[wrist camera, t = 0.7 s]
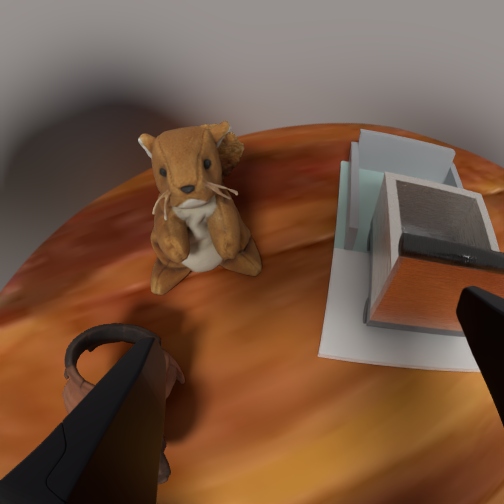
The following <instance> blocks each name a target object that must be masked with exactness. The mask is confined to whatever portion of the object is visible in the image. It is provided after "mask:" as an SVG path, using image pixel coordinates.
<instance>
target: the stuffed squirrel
mask: <svg viewBox="0 0 504 504" xmlns="http://www.w3.org/2000/svg"><path fill="white" fill-rule="evenodd" d="M230 130H231V125H230V124H229V123H228V122H227V121H223V122H222V123H220V124H219V125H218V124H213V125H207V124H206V125H202V126H200V127H199V126H193V127H186V128H179V129H174V130H170V131H165V132H163V133H162V134H161V135H159V136H158V137H157V138H154V137H152V136H151V135H149V134H142V135H141V136H140V138H139V139H138V141H139V143H140V144H141V145H142V147H143V148H144V149H145V150H146V152H147V154H148V155H149V156H150V157H151V158H152V168H153V173H154V177H155V180H156V184H157V187H158V189H159V191H160V192H161V193H160V194H159V197H158V200H157V202H156V204H155V206H154V208H153V214H155V218H154V228H153V231H152V234H151V244H152V247H153V249H154V251H155V253H156V254H157V259H156V261H155V264H154V266H153V270H152V275H151V291H152V292H153V293H154V294H157V295H158V294H159V295H164V294H166V293H167V292H168V291H170V290H171V289H172V288H173V287H174V286H176V285H177V284H178V283H179V282H180V281H181V280H182V279H183V278H185V277H186V276H187V275H188V274H189V272H190V271H191V270H192V271H194V272H206V271H210V270H212V269H214V268H216V267H217V266H218V265H221V266H223V267H224V268H226V269H228V270H231V271H234V272H238V273H241V274H245V275H250V276H256V275H258V274H259V273H260V272H261V270H262V264H261V259H260V255H259V252H258V250H257V248H256V245H255V243H254V241H253V239H252V236H251V232H250V230H249V229H248V228H247V226H246V225H245V224H244V222H243V221H242V219H241V216H240V214H239V212H238V210H237V208H236V206H235V204H234V202H233V200H232V198H231V196H230V194H229V193H228V191H227V190H229V191H230V192H232V193H234V194H235V195H238V192H237V191H235V190H233V189H229V188H226V187H225V185H224V182H223V181H222V180H223V179H224V178H225V177H226V176H229V175H228V174H230V171H232V169H233V168H235V167H236V165H237V164H238V163H239V162H240V158H241V156H242V152H243V151H244V147H243V146H244V144H243V143H241V142H240V141H238V138H237V137H236V136H235V134H233V133H232V132H231V133H230V132H229V131H230ZM226 189H227V190H226Z"/></svg>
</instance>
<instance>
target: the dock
mask: <svg viewBox="0 0 504 504" xmlns="http://www.w3.org/2000/svg"><path fill="white" fill-rule="evenodd" d="M454 156H455V151H454V150H453V149H450V148H446V147H442V146H439V145H435V144H431V143H427V142H423V141H418V140H414V139H410V138H405V137H400V136H396V135H391V134H386V133H381V132H375V131H370V130H364V129H360V136H359V142H358V143H357V142H351V149H350V155H349V162H345V161H341V166H340V182H339V195H338V208H337V219H336V229H335V239H334V248H333V257H332V265H331V273H330V280H329V288H328V295H327V302H326V309H325V315H324V321H323V328H322V334H321V340H320V345H319V351H318V356H317V357H323V358H330V359H336V360H343V361H350V362H358V363H366V364H374V365H383V366H392V367H402V368H413V369H425V370H440V371H459V372H480V369H479V367H478V365H477V363H476V361H475V359H474V357H473V355H472V352H471V350H470V347H469V345H468V342H467V340H466V337H457V336H447V335H437V334H428V333H419V332H410V331H402V330H394V329H387V328H379V327H372V326H366V324H364V323H363V311H364V306H365V302H366V300H367V298H368V293H369V273H370V251H367V239H368V234H369V230H370V223H371V220H372V216H373V213H374V209H375V206H376V203H377V199H378V196H379V192H380V188H381V185H382V181H383V177H384V173H385V172H390V173H395V174H400V175H405V176H410V177H415V178H419V179H424V180H428V181H432V182H437V183H441V184H445V185H449V186H453V187H457V188H461V189H463V186H462V183H461V181H460V178H459V175H458V172H457V170H456V167H455V165H454V163H452V161H453V158H454Z"/></svg>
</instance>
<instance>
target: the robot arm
mask: <svg viewBox="0 0 504 504" xmlns="http://www.w3.org/2000/svg"><path fill="white" fill-rule="evenodd" d="M456 316H457V318H458V321H459V323H460V325H461V328H462V330H463V332H464V335H465V337H466V340H467V342H468V345H469V347H470V350H471V352H472V355H473V357H474V359H475V361H476V363H477V365H478V367H479V369H480V372H481V374H482V376H483V378H484V380H485V382H486V385H487V387H488V389H489V391H490V394H491V396H492V398H493V401H494V403H495V406H496V408H497V411H498V413H499V416H500V418H501V421H502V424H503V426H504V298H502V297H499V296H497V295H495V294H493V293H490V292H488V291H486V290H484V289H481V288H479V287H477V286H468V287H465V288H463V290H462V291H461V294H460V298H459V301H458V304H457V307H456ZM165 406H166V359H165V356H164V354H163V351H162V349H161V347H160V344H159V342H158V340H157V338H156V337H142V338H140V339H139V340H138V341H137V342H136V343H135V344H134V345H133V346H132V347H131V348H130V349H129V350H128V351H127V352H126V354H125V355H124V356H123V357H122V358H121V359H120V360H119V361H118V362H117V363H116V364H115V365H114V366H113V367H112V368H111V369H110V370H109V371H108V372H107V374H106V375H105V376H104V377H103V378H102V379H101V380H100V381H99V382H98V383H97V384H96V385H95V386H94V387H93V388H92V389H91V391H90V392H89V393H88V394H87V395H86V396H85V397H84V398H83V399H82V400H81V401H80V402H79V403H78V404H77V406H76V407H75V408H74V409H73V410H72V411H71V412H70V413H69V414H68V415H67V416H66V417H65V419H64V420H63V423H60V424H59V425H58V426H57V427H56V428H55V429H54V430H53V431H52V433H51V434H50V435H49V436H48V437H47V438H46V439H45V440H44V441H43V442H42V443H41V444H40V445H39V446H38V447H37V448H36V449H35V450H34V451H32V452H31V453H30V454H29V455H28V456H27V457H26V458H25V459H24V460H23V461H22V462H20V463H19V464H18V465H17V466H16V467H15V468H14V469H13V470H11V471H10V472H9V473H8V474H7V475H6V476H5V477H4V478H2V479H1V480H0V504H156V499H157V487H158V475H159V465H160V455H161V446H162V437H163V429H164V421H165Z"/></svg>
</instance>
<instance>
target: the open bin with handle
mask: <svg viewBox="0 0 504 504" xmlns="http://www.w3.org/2000/svg"><path fill="white" fill-rule="evenodd" d="M367 251H370V273H369V293H368V298H367V300H366V302H365V306H364V311H363V323H364V324H366V326H372V327H379V328H387V329H394V330H402V331H410V332H419V333H428V334H437V335H447V336H457V337H465V335H464V332H463V330H462V328H461V325H460V323H459V321H458V318H457V316H456V307H457V304H458V301H459V298H460V294H461V291H462V290H463V288H465V287H468V286H477V287H479V288H481V289H484V290H486V291H488V292H490V293H493V294H495V295H497V296H499V297H502V298H504V253H502V252H500V251H499V247H498V244H497V240H496V237H495V234H494V230H493V227H492V224H491V221H490V218H489V215H488V212H487V209H486V206H485V203H484V201H483V198H482V195H481V194H479V193H476V192H472V191H468V190H465V189H461V188H457V187H453V186H449V185H445V184H441V183H437V182H432V181H428V180H424V179H419V178H415V177H410V176H405V175H400V174H395V173H390V172H385V173H384V177H383V181H382V185H381V188H380V192H379V196H378V199H377V203H376V206H375V209H374V213H373V216H372V220H371V223H370V230H369V234H368V239H367Z"/></svg>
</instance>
